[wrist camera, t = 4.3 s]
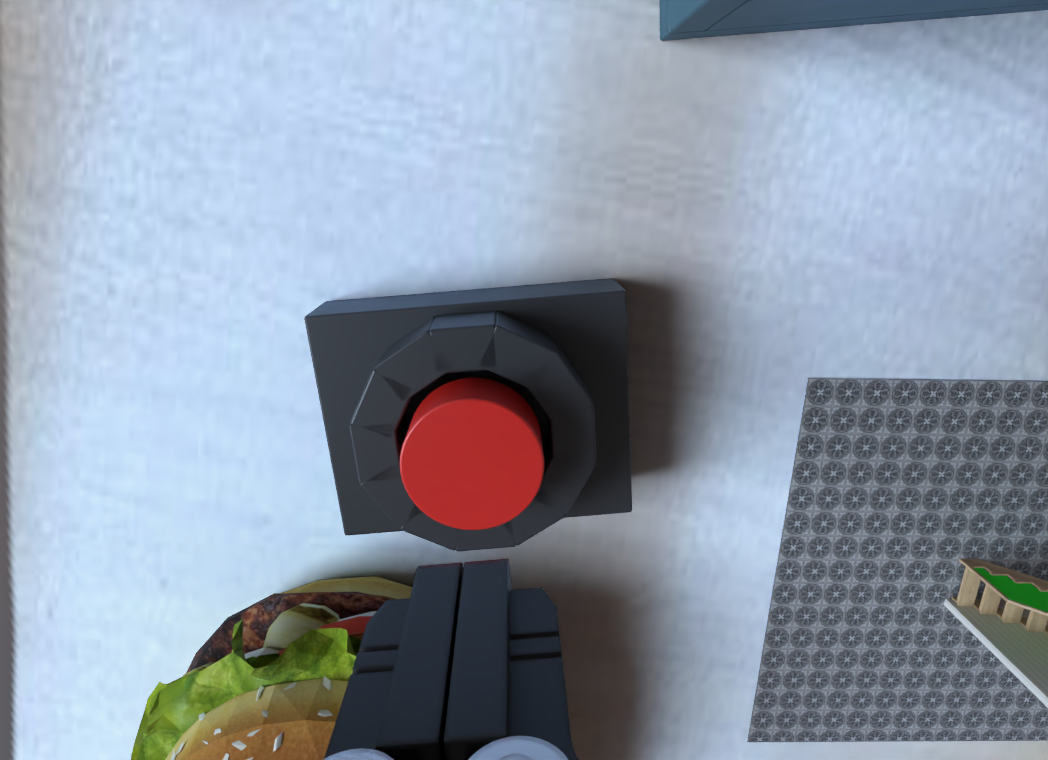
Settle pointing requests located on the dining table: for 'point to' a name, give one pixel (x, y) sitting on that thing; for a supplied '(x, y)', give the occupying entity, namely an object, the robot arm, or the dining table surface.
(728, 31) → the cupboard
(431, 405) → the red push button
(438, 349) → the button box
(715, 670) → the dining table surface
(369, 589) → the food
